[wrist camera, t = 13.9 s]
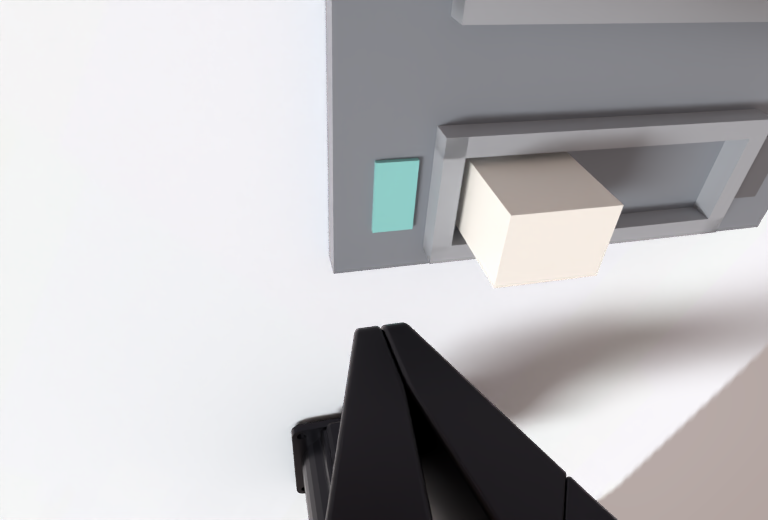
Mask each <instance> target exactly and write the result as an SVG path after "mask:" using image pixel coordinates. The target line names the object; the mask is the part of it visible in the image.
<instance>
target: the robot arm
mask: <svg viewBox="0 0 768 520" xmlns="http://www.w3.org/2000/svg"><path fill="white" fill-rule="evenodd" d="M291 433H292V444H293V455H294V466H295V476H296V486H297V491H298V492H299V493H305V494H306V502H307V510H308V517H309V520H617V519H616V518H615V517H614V516H613V515H612V514H611V513H609V512H608V511H607V510H606V509H605V508H604V507H603V506H602V505H600V504H599V503H598V502H597V501H596V500H595V499H594V498H593V497H592V496H591V495H589V494H588V493H587V492H586V491H585V490H584V489H583V488H582V487H581V486H580V485H579V484H578V483H577V482H576V481H575V480H574V479H572V478H571V477H567V478H566V472H565V471H564V470H563V469H562V468H560V467H559V466H558V465H557V464H556V463H555V462H554V461H553V460H552V459H551V458H550V457H549V456H548V455H547V454H546V453H545V452H543V451H542V450H541V449H540V448H539V447H538V446H537V445H536V444H535V443H534V442H533V441H532V440H531V439H530V438H529V437H527V436H526V435H525V434H524V433H523V432H522V431H521V430H520V429H519V428H518V427H517V426H516V425H515V424H514V423H513V422H511V421H510V420H509V419H508V418H507V417H506V416H505V415H504V414H503V413H502V412H501V411H500V410H499V409H498V408H497V407H496V406H494V405H493V404H492V403H491V402H490V401H489V400H488V399H487V398H486V397H485V396H484V395H483V394H482V393H481V392H480V391H478V390H477V389H476V388H475V387H474V386H473V385H472V384H471V383H470V382H469V381H468V380H467V379H466V378H465V377H464V376H463V375H461V374H460V373H459V372H458V371H457V370H456V369H455V368H454V367H453V366H452V365H451V364H450V363H449V362H448V361H447V360H445V359H444V358H443V357H442V356H441V355H440V354H439V353H438V352H437V351H436V350H435V349H434V348H433V347H432V346H431V345H429V344H428V343H427V342H426V341H425V340H424V339H423V338H422V337H421V336H420V335H419V334H418V333H417V332H416V331H415V330H414V329H412V328H411V327H410V326H409V325H408V324H406V323H395V324H387V325H383V326H382V327H381V328H380V327H378V326H372V327H365V328H358V329H356V330H355V333H354V339H353V345H352V351H351V358H350V364H349V371H348V377H347V384H346V390H345V397H344V403H343V409H342V416H341V418H336V419H330V420H325V421H319V422H313V423H307V424H301V425H297V426H295V427H294V428H293V429H292V431H291Z"/></svg>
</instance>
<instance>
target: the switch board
mask: <svg viewBox="0 0 768 520" xmlns="http://www.w3.org/2000/svg"><path fill="white" fill-rule="evenodd" d="M326 67H327V138H328V209H329V257H330V261H331V265H332V269H333V273H334V274H335V273H344V272H353V271H362V270H371V269H380V268H390V267H399V266H408V265H417V264H426V263H430V264H433V263H442V262H451V261H460V260H469V259H476V258H475V256H474V254H473V253H472V251H471V249H470V248H469V246H468V244H467V243H466V241H465V239H464V238H463V236H462V234H461V233H460V231H459V229H458V227H457V226H456V224H455V221H456V215H457V209H458V203H459V197H460V191H461V185H462V178H463V172H464V166H465V160H466V158H478V157H493V156H508V155H522V154H537V153H552V152H567V153H568V154H569V155H570V156H572V157H573V158H574V159H575V160H576V161H577V162H578V163H579V164H580V165H581V166H582V167H583V168H584V169H586V170H587V171H588V172H589V173H590V174H591V175H592V176H593V177H594V178H595V179H596V180H597V181H598V182H599V183H601V184H602V185H603V186H604V187H605V188H606V189H607V190H608V191H609V192H610V193H611V194H612V195H613V196H615V197H616V198H617V199H618V200H619V201H620V202H621V203H622V204H623V205H624V206H623V208H622V211H621V214H620V216H619V219H618V221H617V224H616V226H615V229H614V232H613V234H612V237H611V239H610V242H609V244H613V243H622V242H631V241H640V240H649V239H658V238H667V237H676V236H685V235H694V234H703V233H712V232H716V231H724V230H733V229H742V228H751V227H758V225H759V223H760V222H761V220H762V218H763V217H764V215H765V213H766V212H767V210H768V0H326Z"/></svg>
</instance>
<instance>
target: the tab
mask: <svg viewBox="0 0 768 520" xmlns="http://www.w3.org/2000/svg"><path fill="white" fill-rule="evenodd" d="M623 206H624V205H623V204H622V203H621V202H620V201H619V200H618V199H617V198H616V197H615V196H613V195H612V194H611V193H610V192H609V191H608V190H607V189H606V188H605V187H604V186H603V185H602V184H601V183H599V182H598V181H597V180H596V179H595V178H594V177H593V176H592V175H591V174H590V173H589V172H588V171H587V170H586V169H584V168H583V167H582V166H581V165H580V164H579V163H578V162H577V161H576V160H575V159H574V158H573V157H572V156H570V155H569V154H568V153H567V152H552V153H537V154H522V155H508V156H493V157H478V158H466V160H465V166H464V172H463V178H462V185H461V191H460V197H459V203H458V209H457V215H456V221H455V224H456V226H457V227H458V229H459V231H460V233H461V234H462V236H463V238H464V239H465V241H466V243H467V244H468V246H469V248H470V249H471V251H472V253H473V254H474V256H475V258H476V259H477V261H478V263H479V264H480V266H481V268H482V269H483V271H484V273H485V274H486V276H487V278H488V279H489V281H490V283H491V284H492V286H493V288H500V287H509V286H517V285H525V284H533V283H541V282H549V281H557V280H565V279H573V278H581V277H589V276H596V275H597V273H598V270H599V268H600V265H601V262H602V260H603V257H604V255H605V252H606V250H607V247H608V244H609V242H610V239H611V237H612V234H613V232H614V229H615V226H616V224H617V221H618V219H619V216H620V214H621V211H622V208H623Z"/></svg>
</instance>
